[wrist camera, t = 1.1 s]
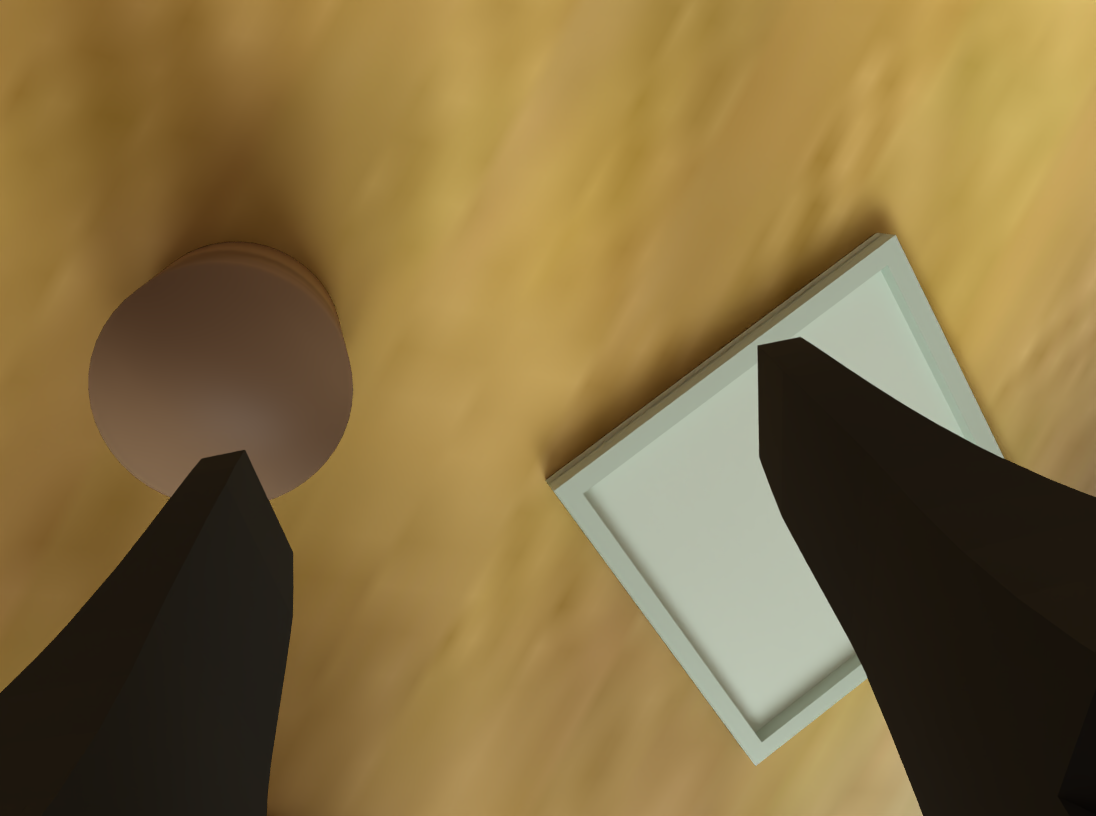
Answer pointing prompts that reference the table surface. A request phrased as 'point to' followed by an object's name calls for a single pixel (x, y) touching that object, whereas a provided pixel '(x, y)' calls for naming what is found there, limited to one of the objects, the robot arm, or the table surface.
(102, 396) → the walnut cylinder
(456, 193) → the table surface
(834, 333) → the coaster
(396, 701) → the table surface
